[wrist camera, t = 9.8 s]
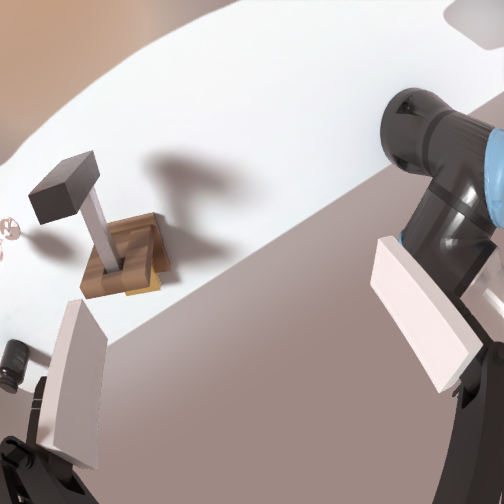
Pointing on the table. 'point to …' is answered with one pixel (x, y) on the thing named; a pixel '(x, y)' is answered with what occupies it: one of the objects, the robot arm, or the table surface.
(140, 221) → the bearing frame
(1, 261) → the wineglass
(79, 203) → the grey hammer
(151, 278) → the block
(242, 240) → the table surface
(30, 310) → the table surface
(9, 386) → the supplement bottle
